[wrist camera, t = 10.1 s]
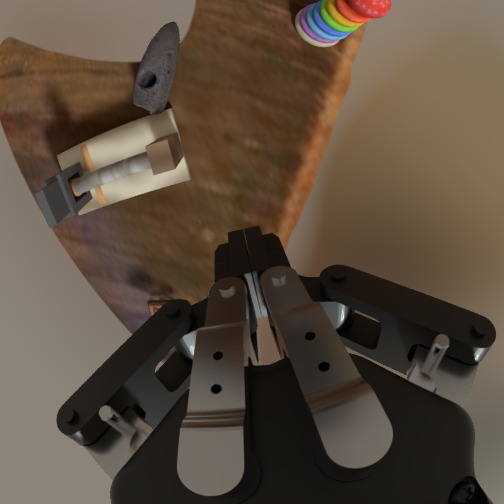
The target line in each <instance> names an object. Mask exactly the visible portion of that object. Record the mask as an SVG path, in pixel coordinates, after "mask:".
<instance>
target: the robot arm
mask: <svg viewBox="0 0 504 504" xmlns="http://www.w3.org/2000/svg"><path fill="white" fill-rule="evenodd" d="M244 231H245V236H246V240H245V236H244V232H243V229H241V230H237V231H232V232H228V242H229V243H226V244H221V245H219V246H218V247H217V249H216V251H215V283H214V284H213V285H212V286H211V287H210V289H209V295H208V297H207V298H206V299H204V300H202V301H201V302H198V303H196V304H194V305H192V306H191V305H190V303H189V302H188V301H186V300H183V299H176V300H172V301H169V302H167V303H166V304H164V305H163V306H162V307H161V308H160V309H159V310H157V311H156V312H155V313H154V314H153V315H152V316H151V317H150V318H149V319H148V320H147V321H146V322H145V323H144V324H143V325H142V326H141V327H140V328H139V329H138V330H137V331H136V332H135V333H134V334H133V335H132V336H131V337H130V338H129V339H128V340H127V341H126V342H125V343H124V344H123V345H122V346H121V347H120V348H119V349H117V351H115V352H114V354H112V355H111V356H110V358H108V359H107V360H106V361H105V362H104V363H103V365H102V366H101V367H99V368H98V369H97V371H95V373H94V374H92V376H91V377H90V378H89V379H88V380H87V381H86V382H85V383H84V384H83V385H82V386H81V387H80V388H79V389H78V390H77V391H76V392H75V393H74V394H73V395H72V396H71V397H70V398H69V399H68V400H67V401H66V402H65V403H64V404H63V405H62V407H61V408H60V409H59V412H58V414H57V426H58V428H59V430H60V431H61V432H62V433H64V434H65V435H67V436H68V437H70V438H71V439H73V440H74V441H76V442H77V443H78V444H79V445H81V446H83V447H84V448H86V449H87V450H88V452H89V453H90V455H91V456H92V457H93V458H94V459H95V461H96V462H97V463H98V464H99V465H100V466H101V468H102V469H103V470H104V471H105V472H106V473H107V474H108V475H109V476H110V478H111V479H112V480H113V482H112V485H111V491H110V498H111V504H493V502H492V501H491V500H490V499H489V498H488V496H487V495H486V494H485V492H484V491H483V490H482V488H481V487H480V485H479V484H478V482H477V480H476V477H475V471H474V444H475V429H474V425H473V422H472V420H471V418H470V416H469V415H468V413H467V412H466V411H465V410H464V407H465V404H466V402H467V399H468V396H469V393H470V390H471V387H472V384H473V381H474V378H475V374H476V371H477V367H478V365H479V364H480V362H481V361H482V359H483V358H484V357H485V355H486V354H487V352H488V350H489V349H490V348H491V346H492V344H493V343H494V341H495V338H496V331H495V328H494V326H493V324H492V322H491V321H490V320H489V319H487V318H486V317H484V316H482V315H479V314H477V313H474V312H471V311H469V310H466V309H463V308H461V307H458V306H456V305H453V304H450V303H448V302H445V301H442V300H440V299H437V298H434V297H432V296H429V295H426V294H424V293H421V292H418V291H415V290H413V289H410V288H407V287H405V286H402V285H399V284H396V283H394V282H391V281H388V280H385V279H382V278H380V277H377V276H374V275H371V274H368V273H366V272H363V271H360V270H357V269H354V268H351V267H349V266H345V265H332V266H329V267H327V268H325V269H324V270H323V271H322V272H321V274H320V277H304V276H301V275H298V274H297V272H296V271H295V270H294V269H292V268H291V266H290V264H289V261H288V259H287V256H286V254H285V251H284V249H283V246H282V244H281V242H280V239H279V237H277V236H276V235H274V234H273V233H270V234H266V235H262V233H261V230H260V227H259V226H254V227H250V228H245V229H244ZM246 241H247V245H246ZM247 246H248V249H247ZM248 251H249V253H248ZM249 256H250V258H249ZM250 261H251V262H250ZM253 276H254V277H253ZM254 280H255V282H254ZM255 284H256V287H255ZM256 289H257V292H256ZM257 293H258V297H259V301H260V306H261V310H262V314H263V316H267V315H268V319H269V323H270V328H271V332H272V335H273V338H274V341H275V344H276V347H277V350H278V353H279V356H280V359H281V360H279V361H277V362H275V363H273V364H270V365H261V363H260V350H259V336H258V330H257V326H258V324H257V318H258V317H261V312H260V307H259V302H258V297H257ZM355 310H356V311H359V312H361V313H364V314H366V315H368V316H370V317H373V318H375V319H377V320H378V321H379V322H380V323H379V322H376V321H374V320H372V319H369V318H367V317H365V316H362V315H360V314H358V313H355ZM345 346H346V347H348V348H350V349H352V350H354V351H356V352H358V353H360V354H362V355H365V356H367V357H368V358H371V359H373V360H375V361H377V362H379V363H381V364H383V365H386V366H388V367H390V368H392V369H394V370H396V371H399V372H401V373H403V374H405V375H407V380H406V379H404V378H402V377H400V376H398V375H397V374H395V373H393V372H391V371H389V370H387V369H385V368H383V367H381V366H379V365H377V364H375V363H373V362H371V361H369V360H367V359H365V358H363V357H361V356H358V355H355V354H351V353H348V352H347V350H346V348H345ZM173 347H174V349H175V350H176V351H175V352H174V353H173V354H172V355H171V356H170V357H169V358H168V360H167V361H166V362H165V363H164V364H163V365H162V366H161V367H160V368H159V370H158V371H157V372H156V373H155V368H156V366H157V365H158V363H159V362H160V361H161V360H162V359H163V358H164V357H165V356H166V355H167V354H168V353H169V352H170V350H171V349H172V348H173ZM189 387H190V388H189ZM188 388H189V389H188ZM159 422H160V423H159ZM158 423H159V424H158ZM155 427H156V428H155ZM154 428H155V429H154ZM153 429H154V430H153Z"/></svg>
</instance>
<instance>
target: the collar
mask: <svg viewBox="0 0 504 504" xmlns="http://www.w3.org/2000/svg"><path fill="white" fill-rule="evenodd" d="M83 175H84V173H83V170H82V167H81V164H80V162H78V163H76V164H74V165H72V166H70V167H68V168H66V169H64V170H62V171H61V172H59V173H57V174H56V175H54V176H52V177H51V178H49V179H47V180H46V181H45V182H46V184H47V186H46V187H44V188H43V189H41V190H40V191H38V192H37V193H36V194H35V195H36V198H37V200H38V203H39V205H40V208H41V210H42V212H43V215H44V217H45V219H46V221H47V224H48V226H49V228H50V227H52V226H55V225H57V224H58V223H59V222H60V221H61V220H64V219H66V218H69V217H71V216H74V215H76V214H77V213H78V212H79V211H80V210H81V209H82V208H83V207H84V206H85V205H86V204H87V203H88V202H90V201H91V200H92V199H93V197H92V194H91V192H90V190H89V191H86V192H84V193H82V194H81V195H79V196H77V197H74V196H73V193H72V191H71V188H70V186H69V183H68V181H70V180H72V179H74V178H79V177H81V176H83Z"/></svg>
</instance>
